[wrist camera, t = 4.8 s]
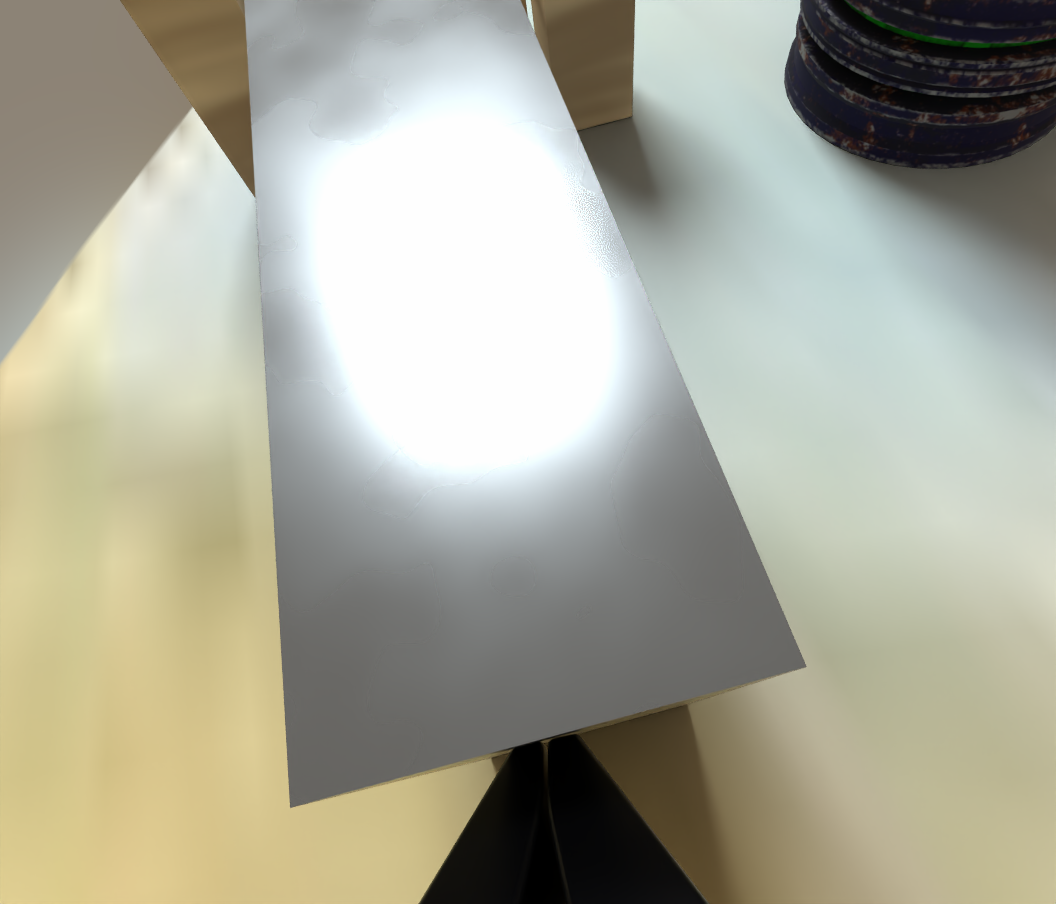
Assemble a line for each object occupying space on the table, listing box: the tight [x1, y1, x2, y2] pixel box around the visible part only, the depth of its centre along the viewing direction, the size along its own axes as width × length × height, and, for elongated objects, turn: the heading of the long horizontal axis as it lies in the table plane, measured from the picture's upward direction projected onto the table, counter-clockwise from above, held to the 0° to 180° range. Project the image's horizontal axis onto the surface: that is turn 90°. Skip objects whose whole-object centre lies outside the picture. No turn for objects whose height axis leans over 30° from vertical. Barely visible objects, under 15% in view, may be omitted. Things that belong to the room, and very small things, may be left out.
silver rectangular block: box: [244, 0, 806, 808], centre depth 14 cm, size 20×5×10 cm, turn 14°
